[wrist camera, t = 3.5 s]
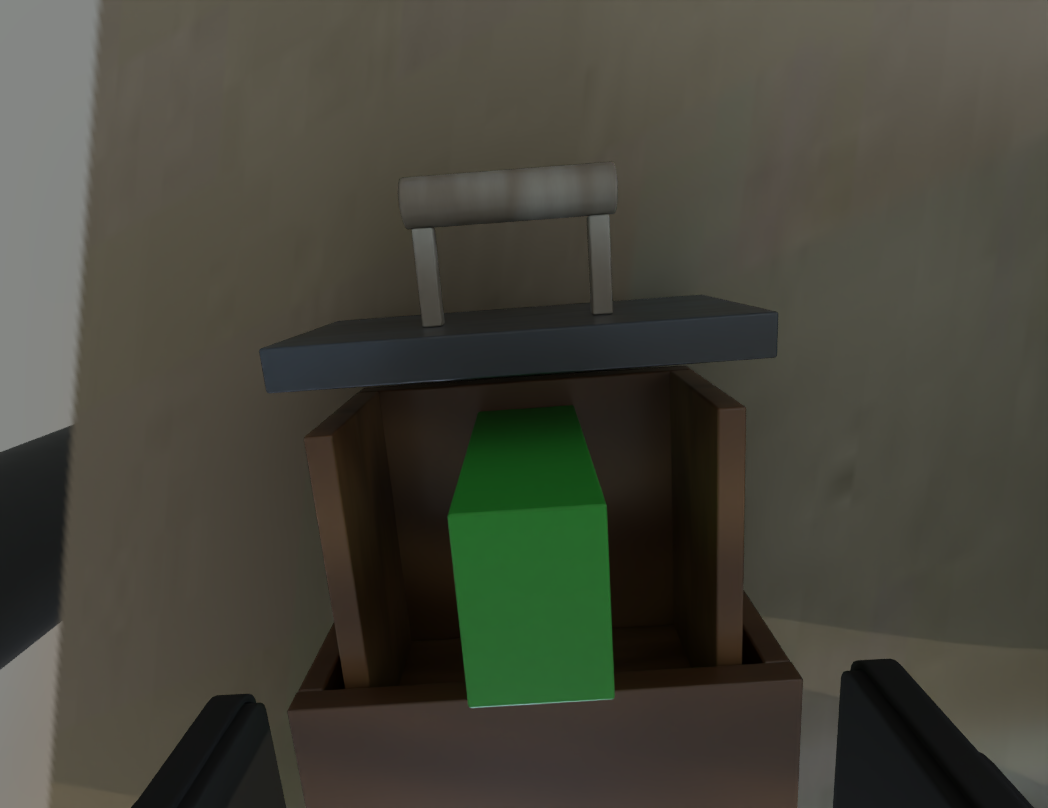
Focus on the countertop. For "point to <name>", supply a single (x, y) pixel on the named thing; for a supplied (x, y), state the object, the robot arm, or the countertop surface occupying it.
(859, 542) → the countertop surface
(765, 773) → the cabinet
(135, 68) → the countertop surface
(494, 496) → the green rectangular box
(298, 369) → the drawer
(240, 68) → the countertop surface
